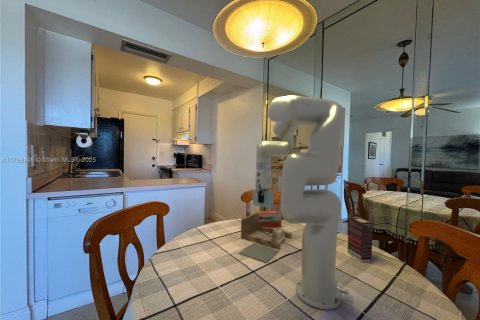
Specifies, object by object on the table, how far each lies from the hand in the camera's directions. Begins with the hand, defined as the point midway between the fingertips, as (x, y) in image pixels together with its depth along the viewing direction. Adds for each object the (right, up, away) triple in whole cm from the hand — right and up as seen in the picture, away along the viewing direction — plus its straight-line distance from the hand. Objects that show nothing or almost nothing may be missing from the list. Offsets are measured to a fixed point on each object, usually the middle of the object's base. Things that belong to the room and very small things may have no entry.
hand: (262, 201), depth 102 cm
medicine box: (+5, -19, +18) cm, 27 cm away
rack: (+1, -18, -1) cm, 19 cm away
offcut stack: (+7, -19, -5) cm, 21 cm away
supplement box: (+39, -20, -19) cm, 47 cm away
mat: (-4, -18, -17) cm, 25 cm away
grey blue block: (0, -2, 0) cm, 2 cm away
